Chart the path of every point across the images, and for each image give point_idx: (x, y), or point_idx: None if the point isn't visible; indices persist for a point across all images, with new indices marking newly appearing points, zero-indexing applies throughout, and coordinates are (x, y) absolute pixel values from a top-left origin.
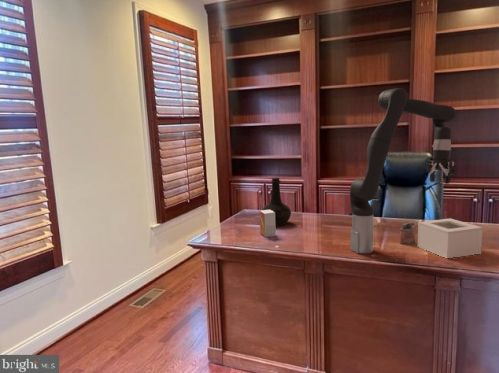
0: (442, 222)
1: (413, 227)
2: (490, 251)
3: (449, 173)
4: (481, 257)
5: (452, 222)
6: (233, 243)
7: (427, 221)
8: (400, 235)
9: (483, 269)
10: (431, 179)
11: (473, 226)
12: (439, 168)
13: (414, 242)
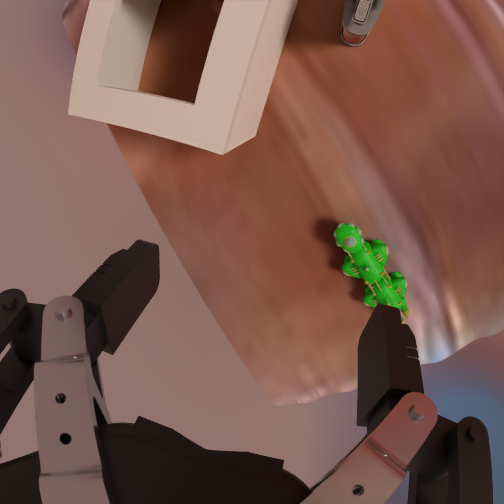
0: (208, 59)
1: (355, 24)
2: (130, 151)
3: (13, 299)
4: None
5: (180, 100)
6: None
7: (260, 2)
8: None
9: (78, 10)
10: (384, 322)
11: (87, 98)
12: (180, 468)
13: (341, 33)
